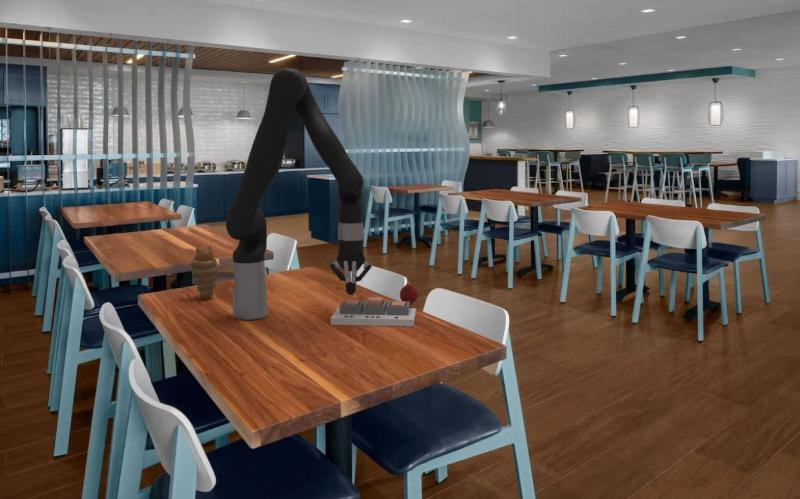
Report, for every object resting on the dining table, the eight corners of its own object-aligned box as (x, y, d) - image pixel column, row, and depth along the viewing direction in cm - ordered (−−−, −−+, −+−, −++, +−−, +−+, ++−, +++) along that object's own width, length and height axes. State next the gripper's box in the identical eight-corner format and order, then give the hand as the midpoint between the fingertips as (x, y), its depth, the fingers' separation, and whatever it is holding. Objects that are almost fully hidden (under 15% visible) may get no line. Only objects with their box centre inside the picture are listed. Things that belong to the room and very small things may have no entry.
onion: (415, 308, 191) (415, 284, 189) (398, 307, 192) (398, 283, 191) (419, 304, 196) (419, 280, 195) (401, 303, 198) (401, 279, 196)
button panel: (330, 324, 174) (330, 309, 174) (338, 313, 186) (338, 299, 185) (413, 326, 172) (413, 311, 172) (416, 314, 184) (416, 300, 183)
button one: (391, 311, 178) (391, 305, 178) (392, 308, 182) (392, 301, 182) (404, 311, 178) (404, 305, 177) (405, 308, 182) (405, 301, 181)
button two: (344, 310, 179) (344, 304, 179) (346, 307, 183) (346, 300, 183) (357, 311, 179) (357, 304, 178) (359, 307, 183) (359, 301, 182)
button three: (367, 306, 178) (367, 300, 178) (369, 303, 182) (369, 297, 182) (380, 307, 178) (380, 300, 178) (382, 303, 182) (382, 297, 182)
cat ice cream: (212, 294, 210) (209, 243, 207) (224, 298, 205) (221, 246, 202) (189, 299, 204) (185, 247, 201) (200, 303, 198) (197, 249, 195)
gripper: (326, 239, 174) (326, 296, 177) (371, 240, 173) (371, 298, 177) (331, 234, 182) (331, 290, 185) (374, 236, 181) (374, 292, 184)
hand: (351, 294), depth 181 cm, fingers closed
